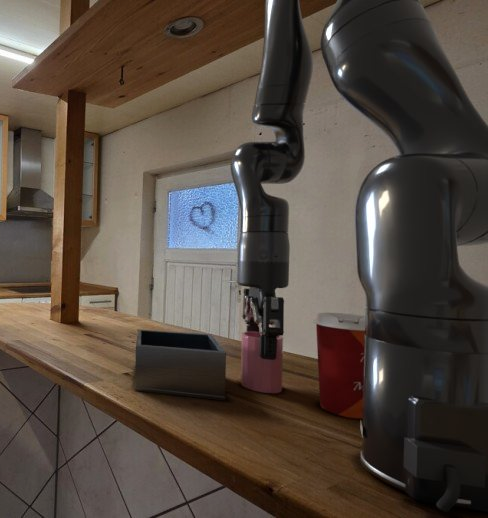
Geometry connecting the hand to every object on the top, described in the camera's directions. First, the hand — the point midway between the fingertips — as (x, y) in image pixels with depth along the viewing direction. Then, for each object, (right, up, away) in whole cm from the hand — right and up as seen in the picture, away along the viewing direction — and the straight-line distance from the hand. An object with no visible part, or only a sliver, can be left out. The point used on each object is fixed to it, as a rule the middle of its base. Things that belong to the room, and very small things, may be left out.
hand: (259, 351), depth 65 cm
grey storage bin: (-14, -6, +2) cm, 15 cm away
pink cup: (0, -6, 0) cm, 6 cm away
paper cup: (+7, -6, -10) cm, 13 cm away
